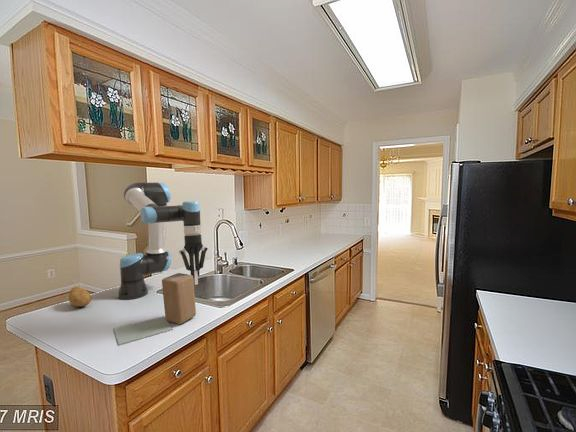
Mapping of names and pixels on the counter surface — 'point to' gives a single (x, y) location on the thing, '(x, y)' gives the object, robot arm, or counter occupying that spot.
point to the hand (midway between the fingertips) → (195, 283)
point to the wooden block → (179, 298)
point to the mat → (141, 330)
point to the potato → (79, 297)
